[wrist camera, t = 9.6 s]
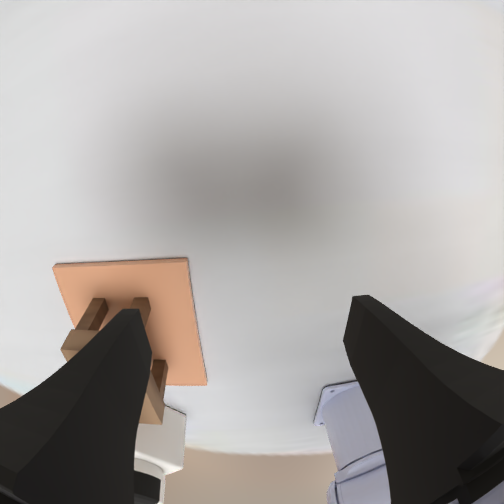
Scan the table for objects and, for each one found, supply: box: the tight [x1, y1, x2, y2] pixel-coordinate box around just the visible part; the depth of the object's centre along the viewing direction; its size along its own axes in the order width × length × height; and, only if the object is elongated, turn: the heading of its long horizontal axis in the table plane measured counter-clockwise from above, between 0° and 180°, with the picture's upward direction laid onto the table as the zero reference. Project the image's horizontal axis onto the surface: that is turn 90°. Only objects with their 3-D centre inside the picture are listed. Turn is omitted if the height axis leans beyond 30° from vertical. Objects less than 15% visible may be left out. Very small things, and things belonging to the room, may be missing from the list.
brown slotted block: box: [61, 297, 168, 425], centre depth 19 cm, size 5×8×6 cm, turn 1°
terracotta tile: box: [52, 258, 207, 386], centre depth 22 cm, size 11×13×1 cm
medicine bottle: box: [134, 406, 186, 504], centre depth 22 cm, size 7×7×12 cm
